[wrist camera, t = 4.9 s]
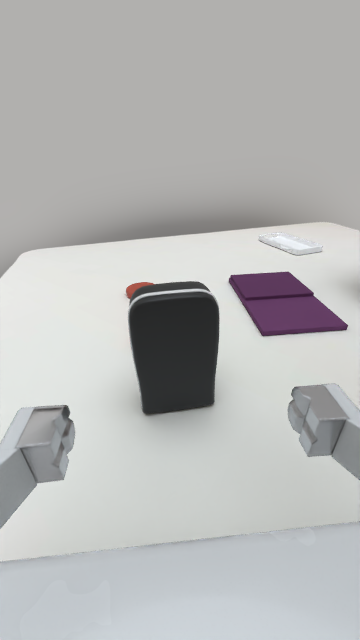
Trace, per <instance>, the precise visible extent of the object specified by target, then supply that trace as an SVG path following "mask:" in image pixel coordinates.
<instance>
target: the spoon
mask: <svg viewBox="0 0 360 640" xmlns="http://www.w3.org/2000/svg"><path fill="white" fill-rule="evenodd" d="M147 285H154V284H153V283H148V282H141V283H135V284H132V285H130V286H128V287H127V289H126V293H127V297H128V298H130V299H131V296H132V294H133V293H134V292H135V290H136V289H138V288H140V287H142V286H147Z"/></svg>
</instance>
